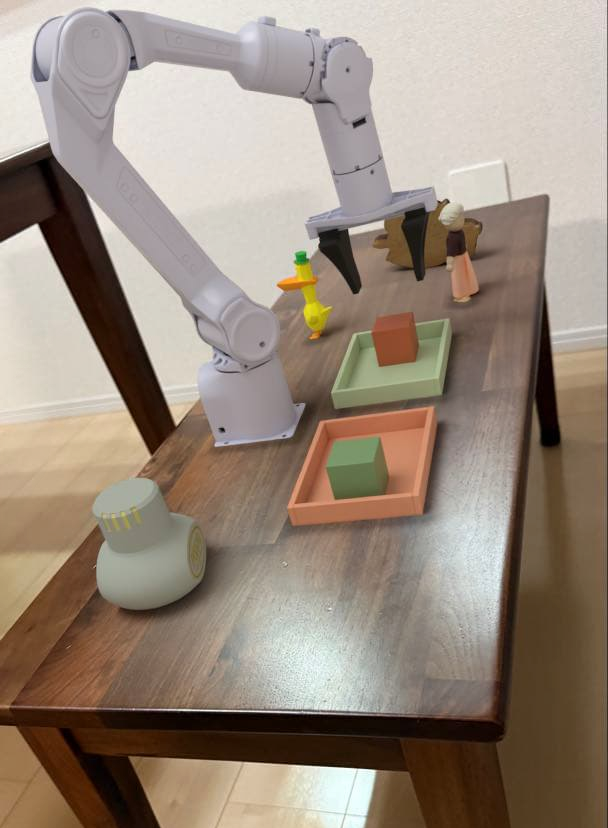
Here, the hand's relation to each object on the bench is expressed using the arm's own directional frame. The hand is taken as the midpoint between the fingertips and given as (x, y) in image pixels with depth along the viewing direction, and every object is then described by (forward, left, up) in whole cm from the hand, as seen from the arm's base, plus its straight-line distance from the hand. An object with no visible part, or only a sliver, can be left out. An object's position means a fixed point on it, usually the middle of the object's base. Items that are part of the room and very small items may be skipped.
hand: (388, 284), depth 97 cm
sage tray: (-1, -3, -10) cm, 10 cm away
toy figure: (-14, +11, -10) cm, 20 cm away
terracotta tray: (-1, -26, -10) cm, 27 cm away
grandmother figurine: (+6, +17, -10) cm, 21 cm away
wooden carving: (0, +33, -10) cm, 35 cm away
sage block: (-1, -29, -9) cm, 31 cm away
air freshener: (-18, -41, -10) cm, 45 cm away
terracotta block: (-1, 0, -9) cm, 9 cm away
